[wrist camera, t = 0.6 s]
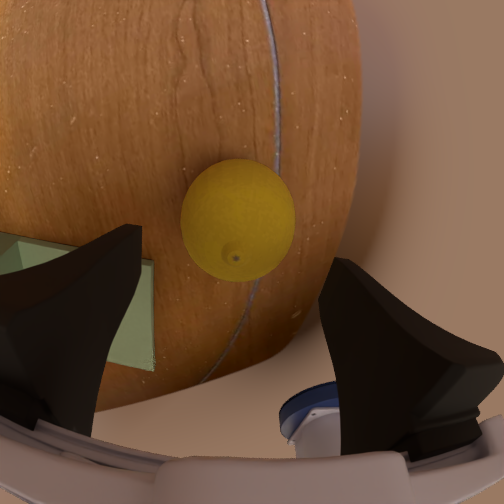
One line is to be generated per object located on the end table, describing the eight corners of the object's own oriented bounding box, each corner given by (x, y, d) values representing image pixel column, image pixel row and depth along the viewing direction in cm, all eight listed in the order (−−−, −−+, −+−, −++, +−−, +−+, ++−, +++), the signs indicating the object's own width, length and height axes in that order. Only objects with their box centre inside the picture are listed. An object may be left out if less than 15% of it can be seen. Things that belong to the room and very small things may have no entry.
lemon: (297, 163, 17) (333, 216, 11) (266, 241, 20) (277, 326, 13) (208, 134, 16) (181, 168, 10) (184, 217, 19) (153, 295, 12)
